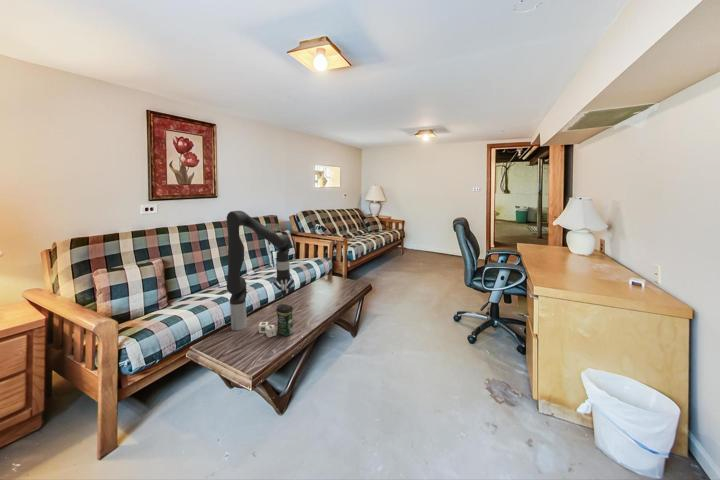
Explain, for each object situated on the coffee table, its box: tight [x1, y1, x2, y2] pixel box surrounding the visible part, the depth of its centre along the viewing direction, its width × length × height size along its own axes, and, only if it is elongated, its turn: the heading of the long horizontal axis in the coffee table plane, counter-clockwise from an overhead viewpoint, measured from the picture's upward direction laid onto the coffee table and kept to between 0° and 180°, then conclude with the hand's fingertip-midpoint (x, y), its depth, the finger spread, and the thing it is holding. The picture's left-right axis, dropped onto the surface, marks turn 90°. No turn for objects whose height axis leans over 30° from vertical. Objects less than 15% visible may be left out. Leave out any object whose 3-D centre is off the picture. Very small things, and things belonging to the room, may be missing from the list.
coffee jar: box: [276, 303, 294, 337], centre depth 179 cm, size 10×8×19 cm
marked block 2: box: [265, 324, 277, 338], centre depth 178 cm, size 5×6×5 cm
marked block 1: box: [258, 321, 269, 334], centre depth 183 cm, size 5×5×5 cm
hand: (284, 295), depth 176 cm, fingers closed
